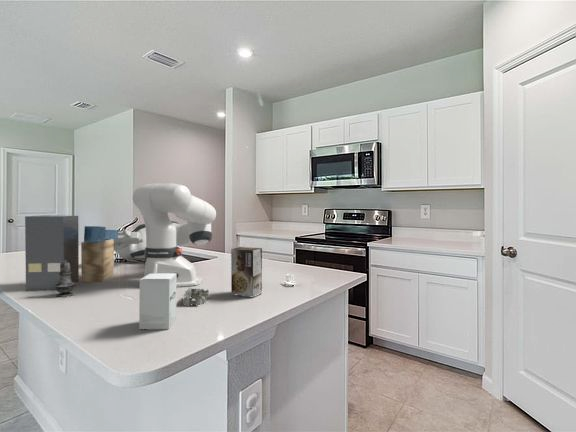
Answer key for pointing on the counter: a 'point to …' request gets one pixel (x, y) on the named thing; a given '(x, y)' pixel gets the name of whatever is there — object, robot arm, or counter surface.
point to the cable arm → (98, 234)
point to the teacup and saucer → (289, 279)
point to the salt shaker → (65, 281)
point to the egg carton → (195, 296)
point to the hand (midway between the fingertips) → (113, 230)
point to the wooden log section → (97, 260)
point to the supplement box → (157, 301)
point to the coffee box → (246, 271)
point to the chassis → (50, 250)
